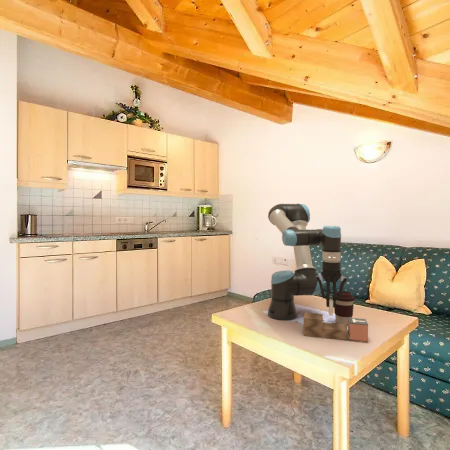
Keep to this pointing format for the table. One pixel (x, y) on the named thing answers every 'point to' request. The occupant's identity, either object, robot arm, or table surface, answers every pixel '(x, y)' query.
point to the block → (358, 329)
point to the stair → (325, 328)
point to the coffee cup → (344, 308)
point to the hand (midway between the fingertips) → (330, 314)
